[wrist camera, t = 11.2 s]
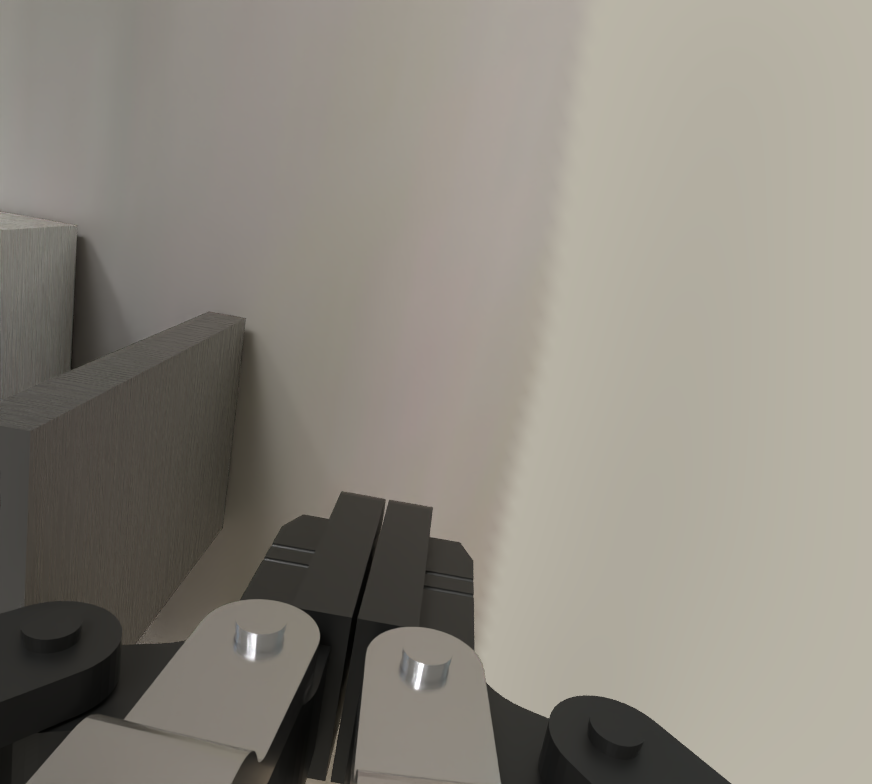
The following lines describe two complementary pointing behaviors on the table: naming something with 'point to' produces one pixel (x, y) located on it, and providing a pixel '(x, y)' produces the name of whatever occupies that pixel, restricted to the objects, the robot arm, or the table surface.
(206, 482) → the sliding jaw
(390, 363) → the table surface
